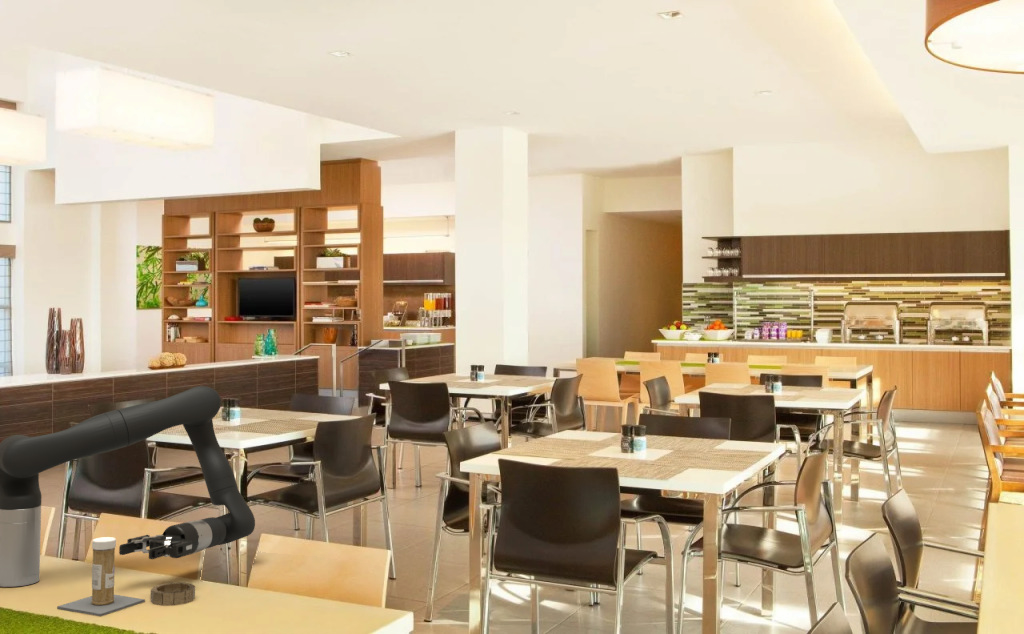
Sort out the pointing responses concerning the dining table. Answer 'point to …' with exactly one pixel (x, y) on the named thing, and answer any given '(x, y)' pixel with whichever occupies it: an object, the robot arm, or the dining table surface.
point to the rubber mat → (100, 610)
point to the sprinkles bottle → (103, 570)
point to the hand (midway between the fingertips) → (135, 552)
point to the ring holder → (172, 593)
